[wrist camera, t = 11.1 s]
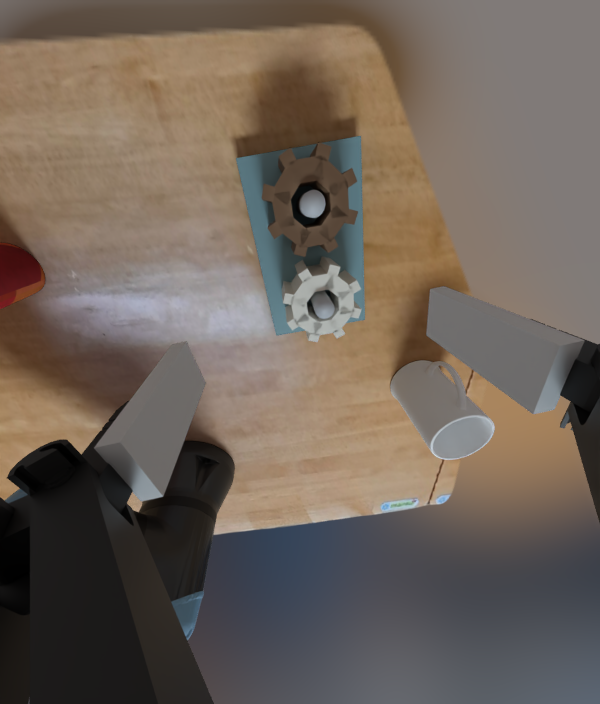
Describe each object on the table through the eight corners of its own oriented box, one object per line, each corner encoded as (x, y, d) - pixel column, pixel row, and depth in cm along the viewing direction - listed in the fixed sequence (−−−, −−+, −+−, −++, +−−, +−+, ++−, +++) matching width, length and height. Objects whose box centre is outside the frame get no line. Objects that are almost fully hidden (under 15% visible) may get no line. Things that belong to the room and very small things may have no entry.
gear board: (276, 330, 34) (276, 359, 28) (238, 160, 25) (225, 143, 18) (361, 315, 34) (381, 340, 28) (356, 139, 25) (385, 114, 18)
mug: (399, 342, 37) (447, 394, 27) (453, 340, 38) (521, 389, 27) (385, 402, 43) (421, 463, 33) (432, 399, 44) (482, 458, 33)
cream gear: (289, 328, 33) (291, 346, 28) (276, 264, 28) (277, 273, 24) (350, 317, 33) (362, 333, 28) (347, 251, 28) (360, 259, 24)
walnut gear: (274, 254, 28) (274, 262, 24) (256, 164, 24) (252, 153, 19) (346, 241, 28) (359, 247, 24) (341, 149, 24) (356, 135, 19)
